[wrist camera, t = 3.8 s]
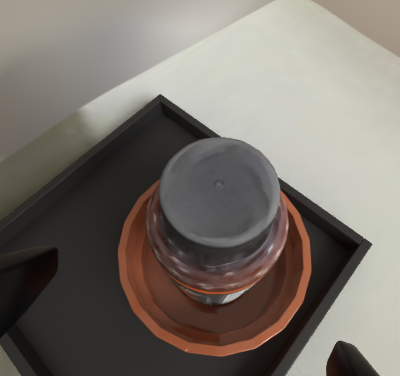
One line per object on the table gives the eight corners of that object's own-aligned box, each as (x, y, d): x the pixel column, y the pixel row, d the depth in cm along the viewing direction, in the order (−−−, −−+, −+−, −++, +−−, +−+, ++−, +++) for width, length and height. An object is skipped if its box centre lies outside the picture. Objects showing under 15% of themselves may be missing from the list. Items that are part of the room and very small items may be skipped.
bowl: (322, 254, 20) (348, 238, 16) (221, 394, 16) (225, 412, 13) (206, 165, 23) (205, 135, 19) (102, 266, 20) (79, 252, 16)
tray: (360, 250, 20) (373, 243, 18) (160, 546, 14) (154, 573, 12) (163, 107, 26) (160, 93, 24) (-35, 269, 20) (-55, 264, 18)
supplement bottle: (150, 258, 20) (87, 182, 9) (212, 202, 21) (216, 85, 11) (213, 329, 18) (219, 328, 7) (275, 260, 19) (350, 183, 9)
